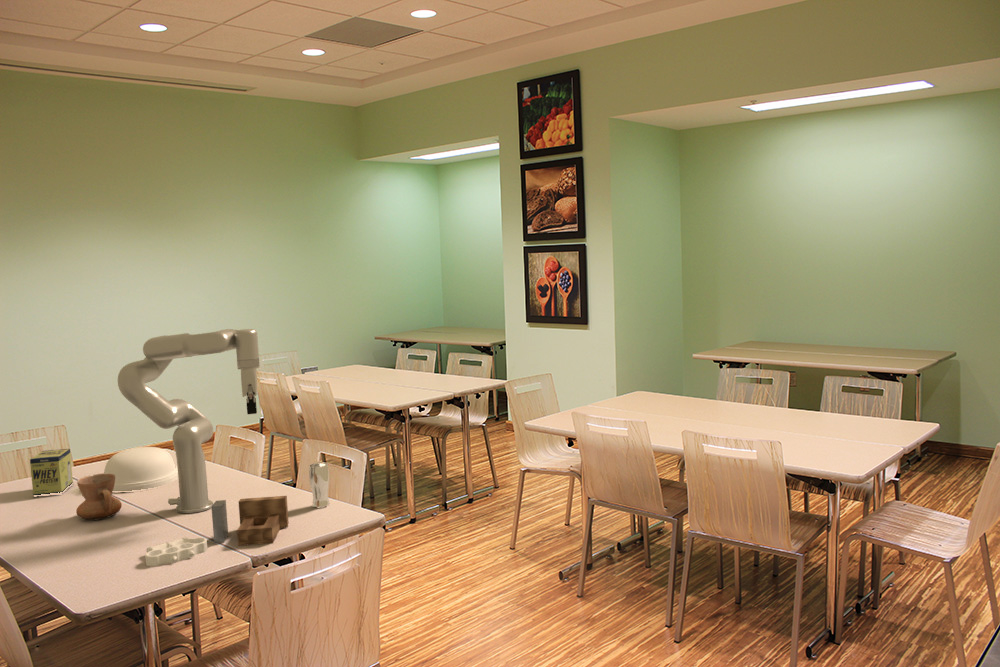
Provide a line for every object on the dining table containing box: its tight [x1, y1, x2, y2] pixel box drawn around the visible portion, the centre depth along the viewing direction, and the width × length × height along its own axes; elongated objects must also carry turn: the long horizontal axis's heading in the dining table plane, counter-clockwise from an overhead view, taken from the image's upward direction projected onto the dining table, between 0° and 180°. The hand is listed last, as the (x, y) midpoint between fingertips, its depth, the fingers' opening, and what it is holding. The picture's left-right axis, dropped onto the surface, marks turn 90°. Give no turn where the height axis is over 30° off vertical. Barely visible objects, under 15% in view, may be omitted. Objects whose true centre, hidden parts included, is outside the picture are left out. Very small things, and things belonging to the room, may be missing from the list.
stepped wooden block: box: [236, 495, 290, 547], centre depth 253 cm, size 15×17×10 cm
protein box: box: [29, 448, 74, 495], centre depth 316 cm, size 10×16×16 cm
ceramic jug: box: [76, 472, 123, 521], centre depth 280 cm, size 18×14×14 cm
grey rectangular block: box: [210, 499, 229, 544], centre depth 250 cm, size 3×6×12 cm, turn 6°
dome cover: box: [103, 446, 178, 491], centre depth 324 cm, size 32×30×14 cm
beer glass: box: [308, 462, 331, 508], centre depth 282 cm, size 7×7×15 cm
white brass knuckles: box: [144, 537, 208, 567], centre depth 239 cm, size 3×18×15 cm
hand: (252, 411), depth 281 cm, fingers open, 9 cm apart
